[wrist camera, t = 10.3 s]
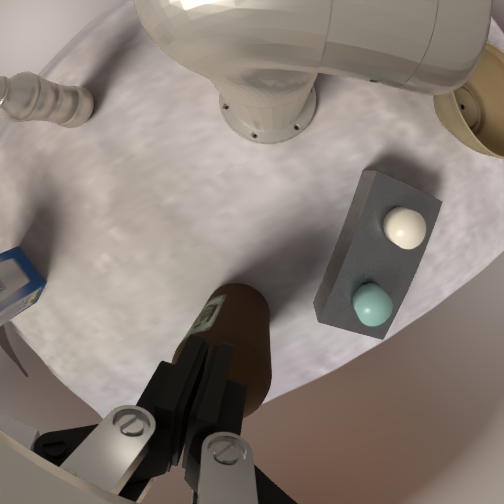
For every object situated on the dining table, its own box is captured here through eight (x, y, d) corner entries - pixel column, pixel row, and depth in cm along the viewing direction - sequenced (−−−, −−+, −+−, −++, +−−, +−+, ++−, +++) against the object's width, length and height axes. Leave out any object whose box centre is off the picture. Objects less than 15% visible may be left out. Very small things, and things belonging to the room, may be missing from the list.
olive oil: (288, 308, 44) (296, 442, 20) (244, 354, 46) (220, 487, 22) (229, 264, 43) (177, 374, 19) (189, 315, 45) (122, 434, 21)
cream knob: (375, 197, 38) (400, 204, 30) (401, 208, 38) (431, 218, 30) (364, 227, 39) (386, 241, 31) (391, 237, 40) (417, 254, 31)
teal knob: (349, 264, 41) (367, 287, 32) (376, 273, 41) (398, 298, 32) (338, 292, 42) (352, 321, 33) (364, 300, 42) (382, 329, 34)
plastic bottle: (106, 104, 38) (14, 78, 19) (80, 137, 39) (-16, 131, 20) (86, 82, 37) (-2, 53, 18) (61, 114, 38) (-30, 102, 19)
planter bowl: (478, 63, 31) (516, 47, 20) (499, 156, 35) (542, 157, 24) (401, 57, 33) (433, 30, 22) (426, 162, 37) (467, 162, 26)
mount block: (362, 170, 38) (376, 170, 32) (422, 197, 38) (442, 201, 32) (313, 302, 43) (318, 322, 37) (371, 320, 43) (383, 339, 38)
